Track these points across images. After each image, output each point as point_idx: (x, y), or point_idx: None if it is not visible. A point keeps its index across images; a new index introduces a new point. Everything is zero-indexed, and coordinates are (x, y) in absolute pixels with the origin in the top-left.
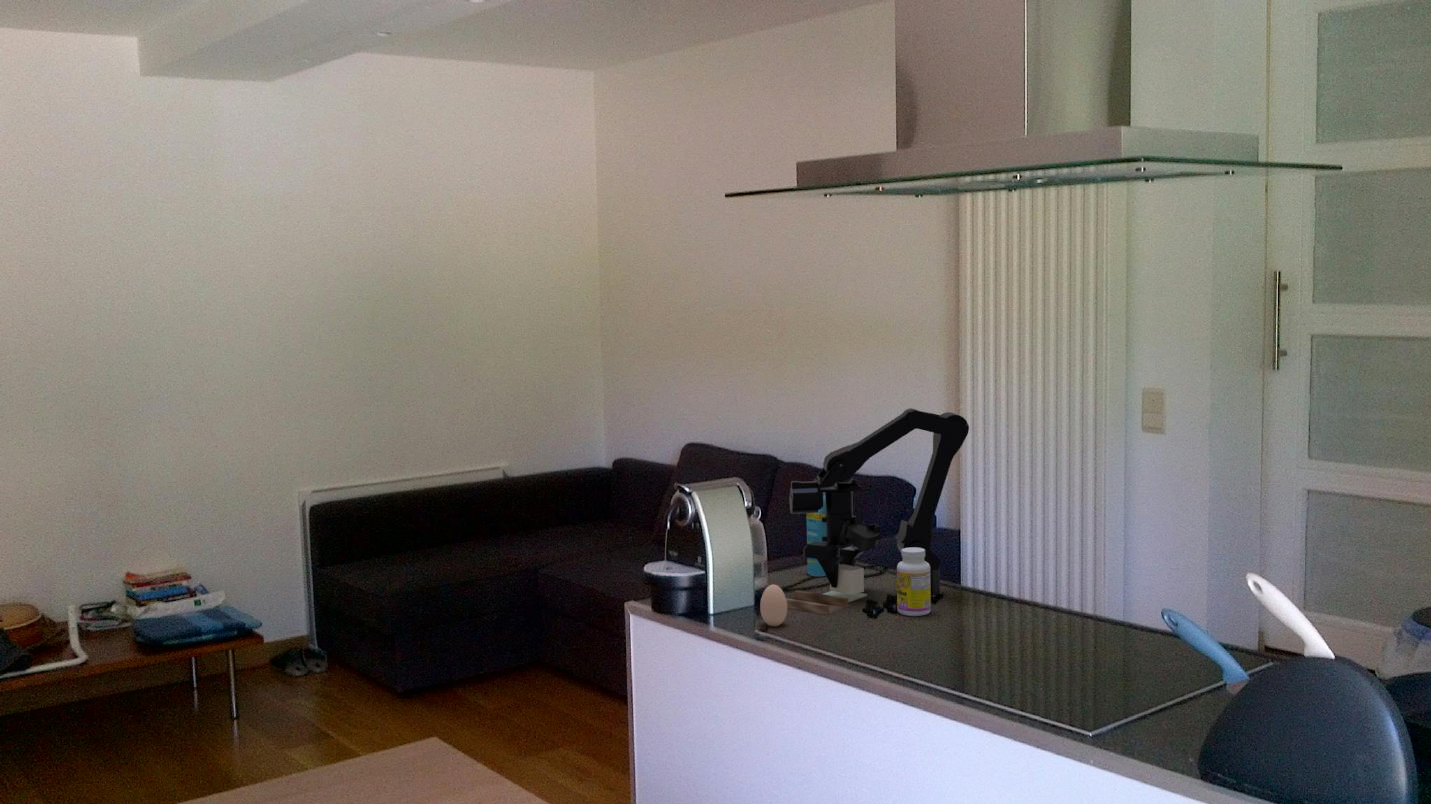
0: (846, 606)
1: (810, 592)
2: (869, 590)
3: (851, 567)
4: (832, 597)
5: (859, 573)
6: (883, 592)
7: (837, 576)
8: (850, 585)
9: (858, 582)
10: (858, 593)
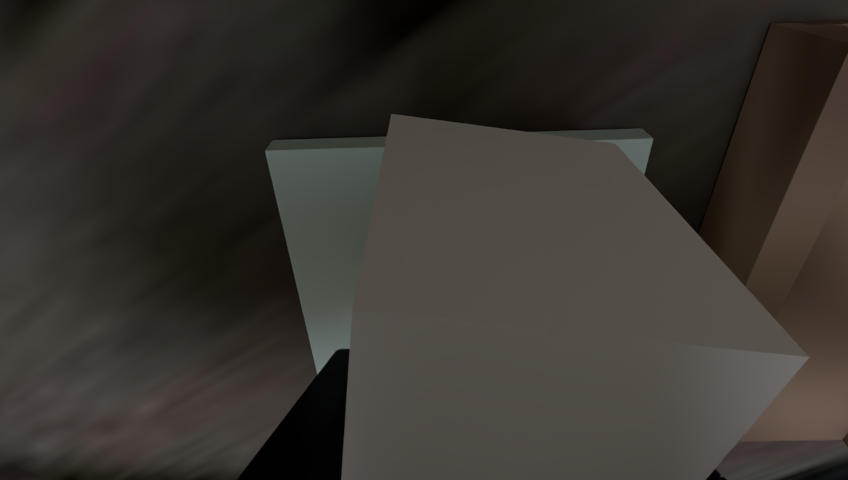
0: (827, 27)
1: None
2: (86, 252)
3: (461, 476)
4: (825, 220)
5: (493, 261)
6: (12, 118)
7: None
8: (657, 201)
9: (503, 182)
10: (305, 223)
